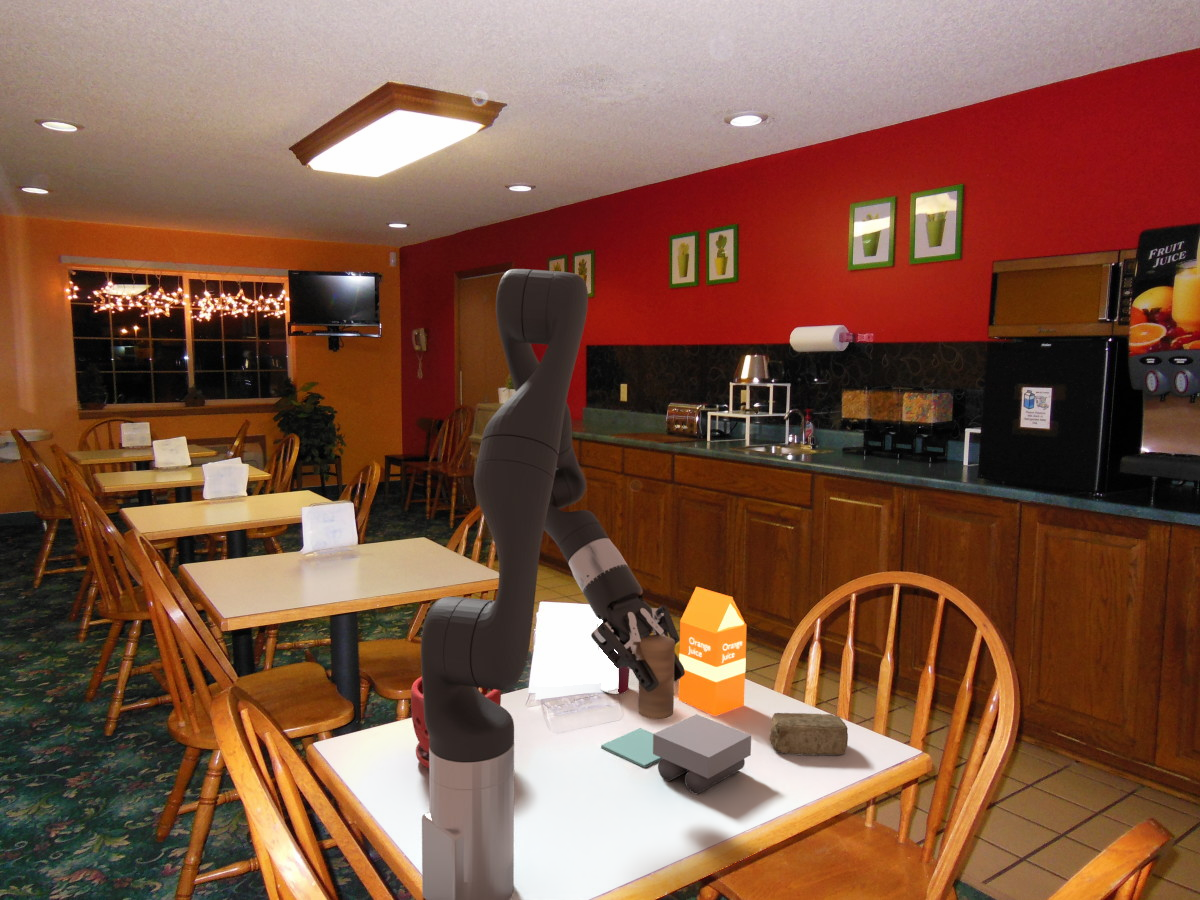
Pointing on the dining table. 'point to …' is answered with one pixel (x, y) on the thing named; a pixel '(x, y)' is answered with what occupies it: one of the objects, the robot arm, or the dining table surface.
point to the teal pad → (634, 747)
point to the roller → (658, 677)
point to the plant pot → (419, 720)
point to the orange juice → (712, 653)
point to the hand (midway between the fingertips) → (666, 682)
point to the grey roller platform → (700, 751)
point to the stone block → (808, 734)
